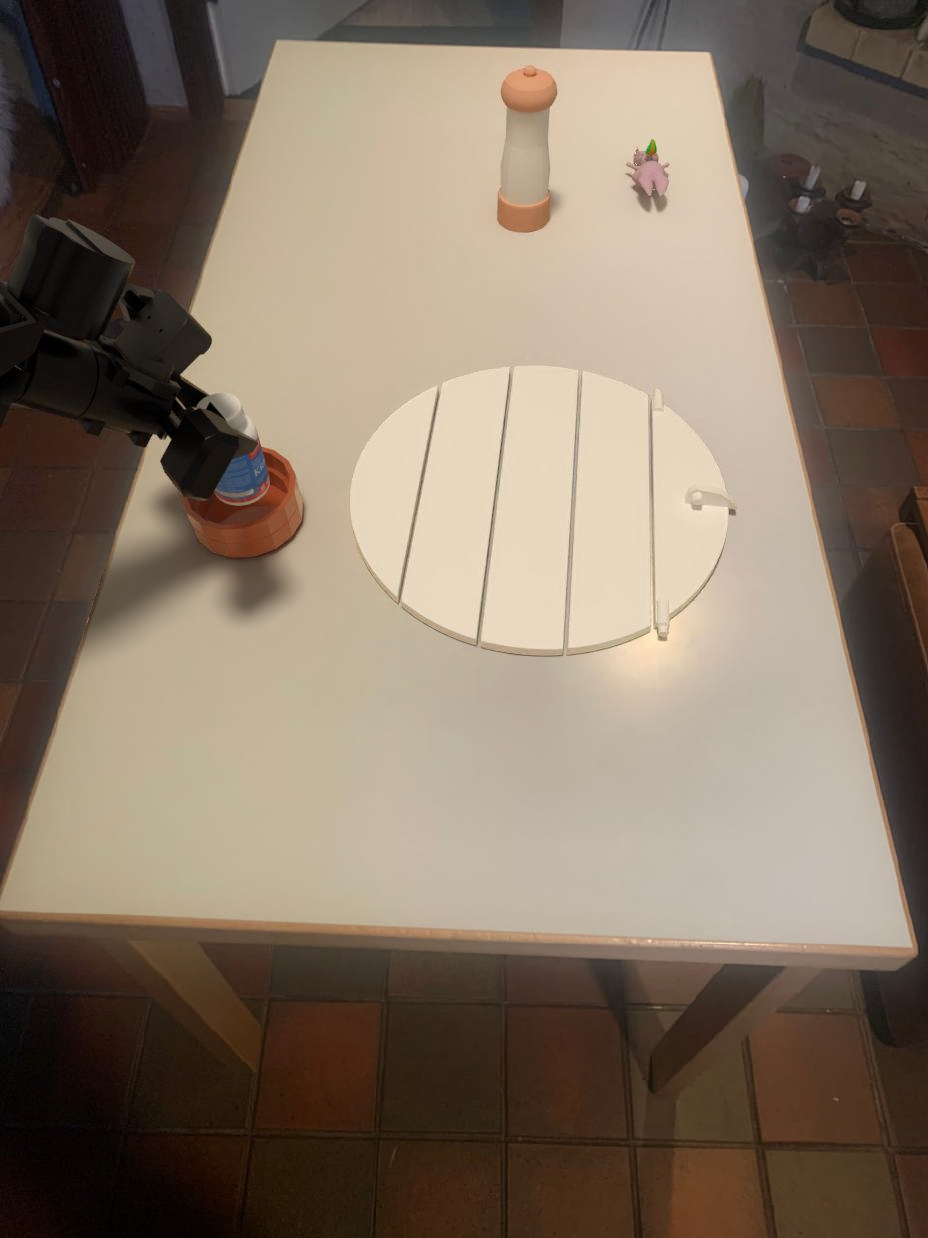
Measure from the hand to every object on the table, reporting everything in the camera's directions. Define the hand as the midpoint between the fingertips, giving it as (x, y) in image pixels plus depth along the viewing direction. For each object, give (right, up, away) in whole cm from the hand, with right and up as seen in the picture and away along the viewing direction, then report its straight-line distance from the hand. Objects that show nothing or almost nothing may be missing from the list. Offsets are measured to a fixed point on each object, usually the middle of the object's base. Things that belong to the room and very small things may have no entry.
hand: (239, 429), depth 76 cm
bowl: (-2, -7, +11) cm, 13 cm away
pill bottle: (-1, -5, +5) cm, 7 cm away
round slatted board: (+28, -5, +13) cm, 31 cm away
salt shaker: (+28, +39, +42) cm, 64 cm away
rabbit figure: (+47, +45, +46) cm, 80 cm away
